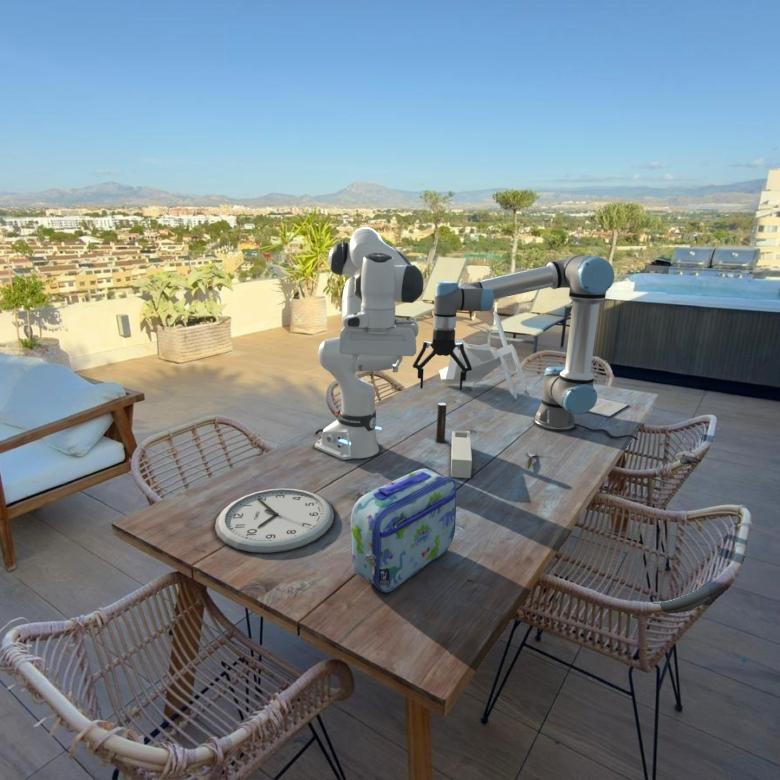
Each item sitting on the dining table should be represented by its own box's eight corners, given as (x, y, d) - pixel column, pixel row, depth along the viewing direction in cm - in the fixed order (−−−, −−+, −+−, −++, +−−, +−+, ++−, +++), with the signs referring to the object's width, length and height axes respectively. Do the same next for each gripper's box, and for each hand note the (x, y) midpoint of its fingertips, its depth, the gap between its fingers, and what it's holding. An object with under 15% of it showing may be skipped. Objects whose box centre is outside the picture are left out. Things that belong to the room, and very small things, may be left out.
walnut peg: (444, 439, 188) (446, 402, 184) (444, 442, 186) (446, 405, 181) (436, 439, 189) (438, 402, 185) (436, 442, 186) (437, 405, 182)
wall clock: (332, 544, 122) (200, 548, 120) (332, 550, 123) (201, 555, 120) (334, 484, 151) (228, 486, 148) (334, 489, 151) (228, 491, 149)
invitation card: (608, 416, 214) (573, 407, 224) (608, 416, 214) (573, 408, 224) (628, 404, 229) (594, 396, 238) (628, 405, 229) (594, 397, 238)
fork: (523, 469, 166) (524, 463, 165) (529, 450, 180) (529, 445, 179) (532, 470, 165) (532, 464, 164) (536, 451, 179) (537, 446, 179)
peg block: (468, 447, 182) (469, 431, 181) (470, 478, 160) (471, 460, 158) (451, 446, 183) (452, 430, 181) (450, 477, 160) (452, 459, 158)
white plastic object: (461, 429, 252) (437, 405, 227) (444, 352, 274) (420, 323, 250) (535, 404, 240) (518, 377, 215) (510, 326, 262) (492, 293, 237)
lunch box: (379, 605, 105) (380, 513, 99) (344, 580, 112) (343, 493, 106) (459, 552, 123) (464, 471, 116) (425, 533, 130) (428, 456, 124)
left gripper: (418, 318, 136) (417, 369, 140) (340, 316, 137) (341, 367, 141) (418, 322, 130) (416, 375, 134) (337, 320, 131) (337, 373, 135)
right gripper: (481, 327, 179) (476, 387, 185) (408, 324, 181) (406, 383, 187) (482, 332, 171) (477, 393, 178) (406, 328, 174) (404, 389, 180)
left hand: (377, 371), depth 138 cm, fingers open, 8 cm apart
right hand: (441, 388), depth 182 cm, fingers open, 13 cm apart
